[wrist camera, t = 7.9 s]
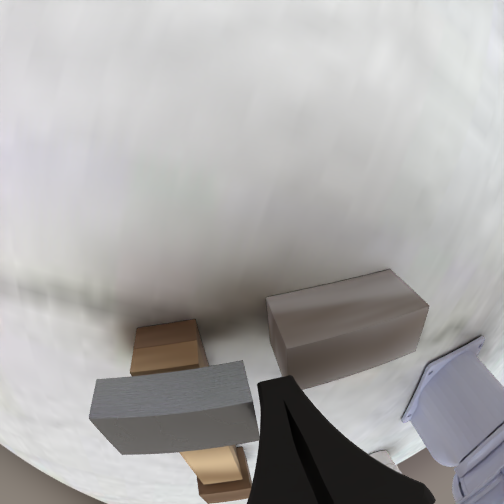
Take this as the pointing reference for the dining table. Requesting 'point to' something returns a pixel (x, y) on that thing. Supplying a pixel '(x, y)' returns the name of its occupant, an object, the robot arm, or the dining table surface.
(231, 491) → the brown grey blocky piece
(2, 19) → the dining table surface
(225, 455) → the arm
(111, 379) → the bar
